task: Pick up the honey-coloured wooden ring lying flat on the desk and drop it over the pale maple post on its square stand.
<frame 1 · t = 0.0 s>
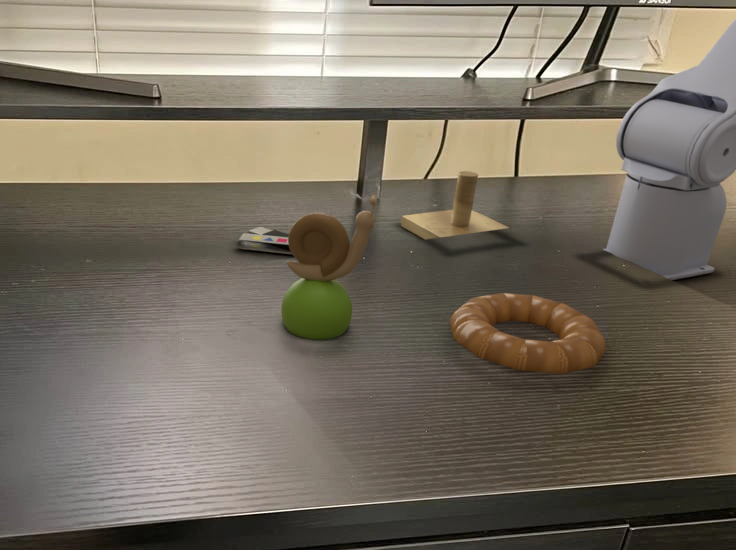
post: (457, 234, 81), on the table
ring: (525, 335, 57), point 1 cm above the table
grey game box: (276, 251, 75), on the table
snail figurine: (320, 344, 58), on the table
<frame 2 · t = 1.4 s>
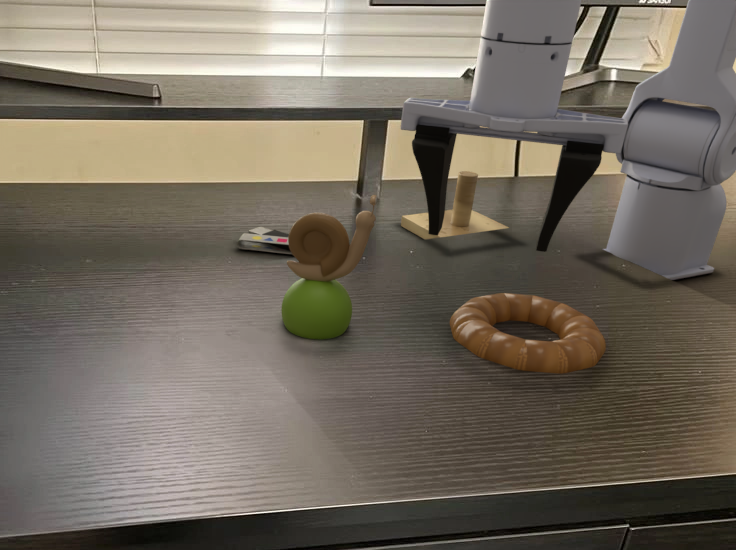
hand: (487, 238, 55), 9 cm above the table, tool pointing down, fingers open, 7 cm apart
nothing on the table moved.
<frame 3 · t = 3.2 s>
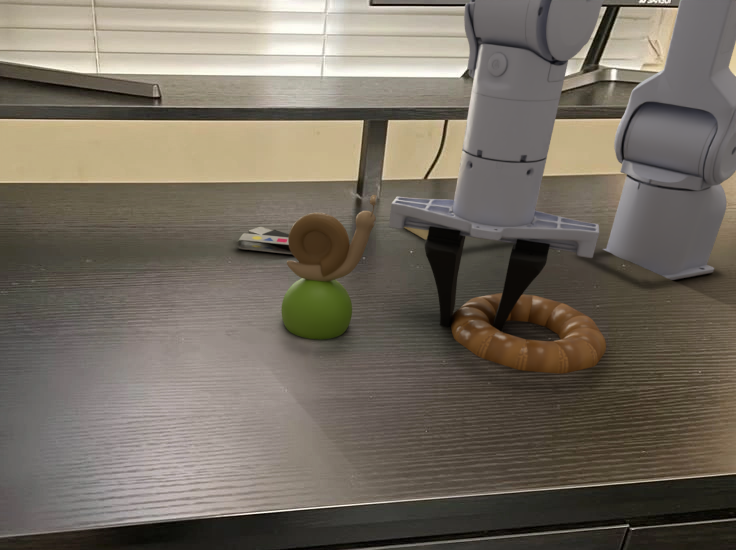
hand: (470, 326, 58), 1 cm above the table, tool pointing down, fingers closed on ring, 3 cm apart
ring: (525, 335, 57), point 2 cm above the table, touching gripper
everything else where it was.
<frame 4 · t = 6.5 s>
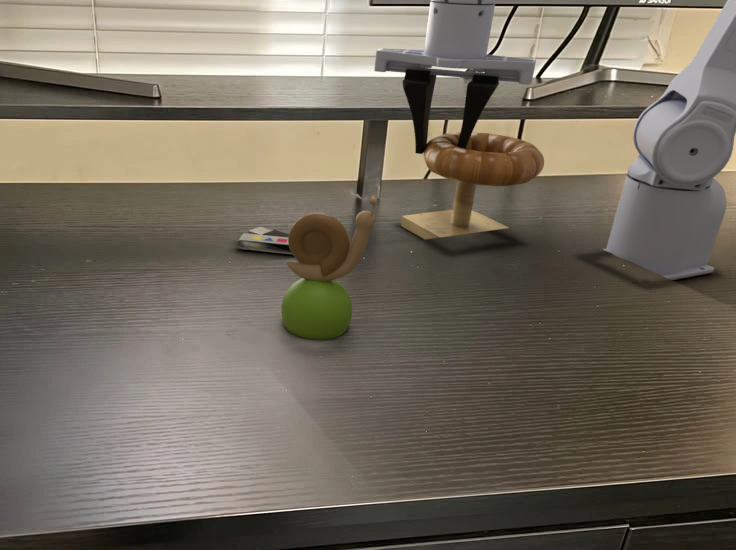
hand: (439, 153, 74), 9 cm above the table, tool pointing down, fingers closed on ring, 3 cm apart
ring: (482, 157, 73), point 9 cm above the table, touching gripper
everything else where it was.
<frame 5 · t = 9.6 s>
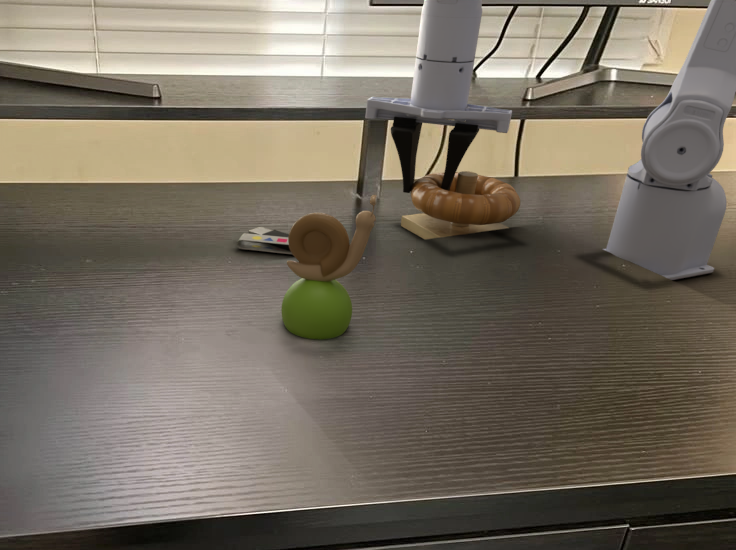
hand: (425, 192, 80), 4 cm above the table, tool pointing down, fingers closed on ring, 3 cm apart
ring: (464, 197, 79), point 4 cm above the table, touching gripper
everything else where it was.
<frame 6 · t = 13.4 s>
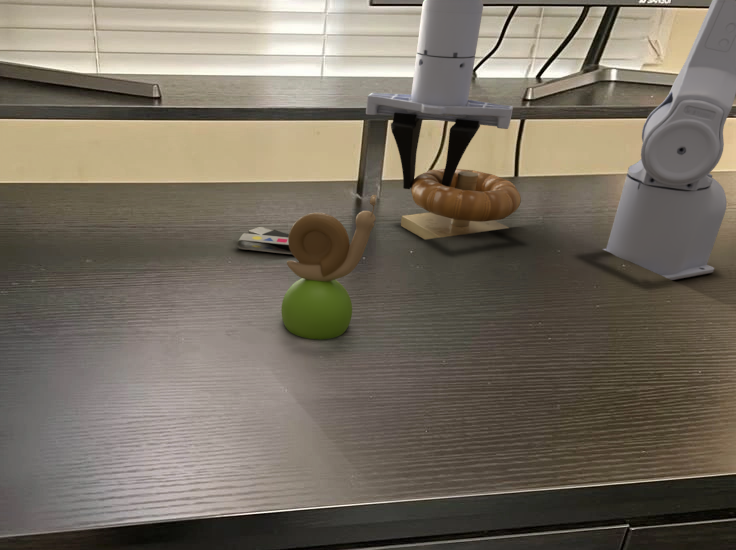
hand: (426, 189, 80), 4 cm above the table, tool pointing down, fingers closed on ring, 3 cm apart
ring: (464, 193, 79), point 5 cm above the table, touching gripper
everything else where it was.
when the fingers open (5 cm above the table, at t = 17.1 s): ring drops 2 cm, resting on post.
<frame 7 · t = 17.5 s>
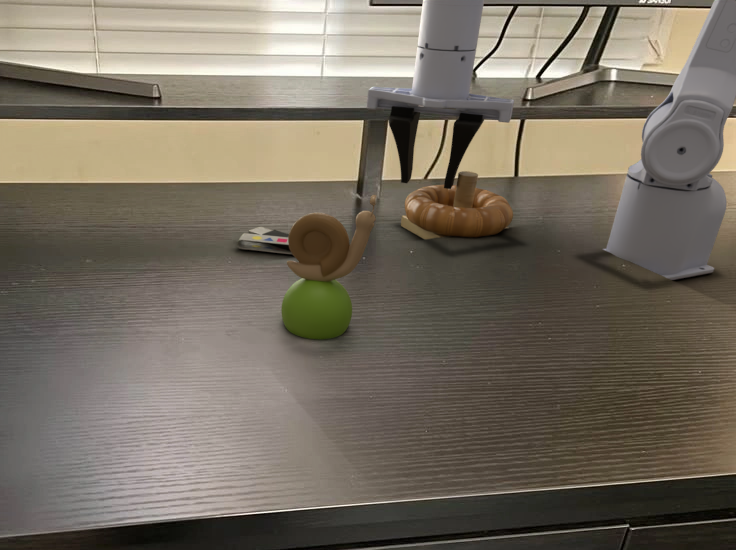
hand: (427, 183, 80), 5 cm above the table, tool pointing down, fingers open, 4 cm apart
ring: (457, 210, 80), point 3 cm above the table, touching post
everything else where it was.
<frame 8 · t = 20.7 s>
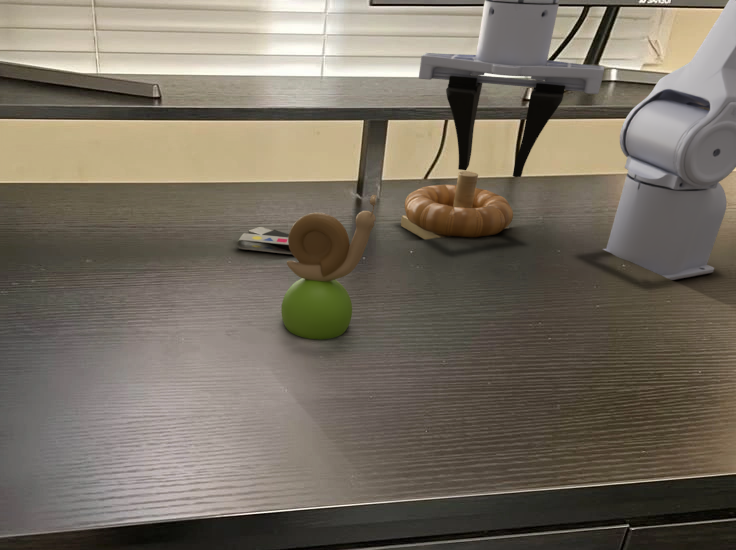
hand: (490, 170, 66), 10 cm above the table, tool pointing down, fingers open, 4 cm apart
nothing on the table moved.
at the end: ring 0.5 cm from the post (horizontally); ring point 2.7 cm above the table; the gripper is holding nothing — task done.
